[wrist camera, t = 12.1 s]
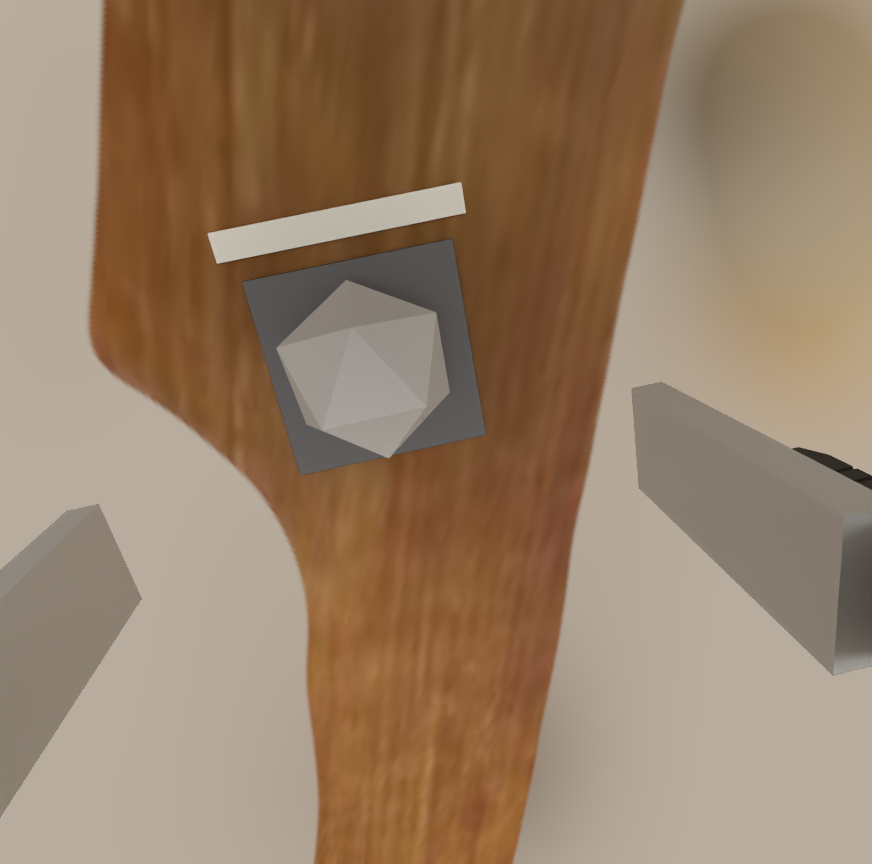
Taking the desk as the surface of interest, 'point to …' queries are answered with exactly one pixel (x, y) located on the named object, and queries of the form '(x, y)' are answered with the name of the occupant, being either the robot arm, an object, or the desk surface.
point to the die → (366, 367)
